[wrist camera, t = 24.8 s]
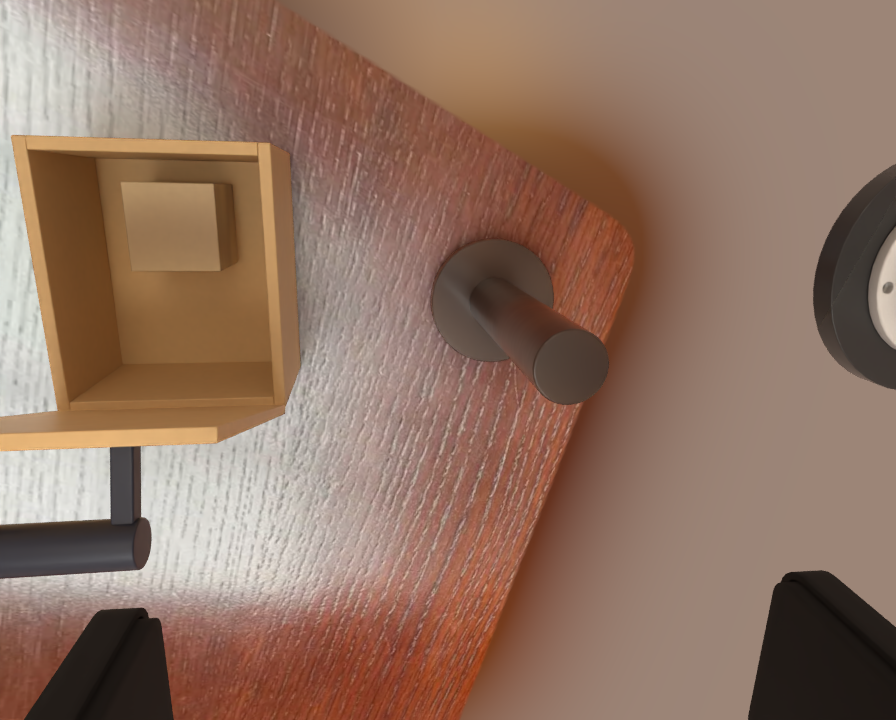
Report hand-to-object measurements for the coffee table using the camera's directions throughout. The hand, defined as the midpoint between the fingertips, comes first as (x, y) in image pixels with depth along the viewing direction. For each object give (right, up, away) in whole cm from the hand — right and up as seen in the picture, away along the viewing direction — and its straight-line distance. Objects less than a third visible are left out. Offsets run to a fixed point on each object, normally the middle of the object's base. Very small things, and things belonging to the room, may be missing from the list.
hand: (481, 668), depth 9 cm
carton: (-16, +10, +27) cm, 33 cm away
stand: (+2, +9, +30) cm, 31 cm away
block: (-15, +13, +26) cm, 33 cm away
